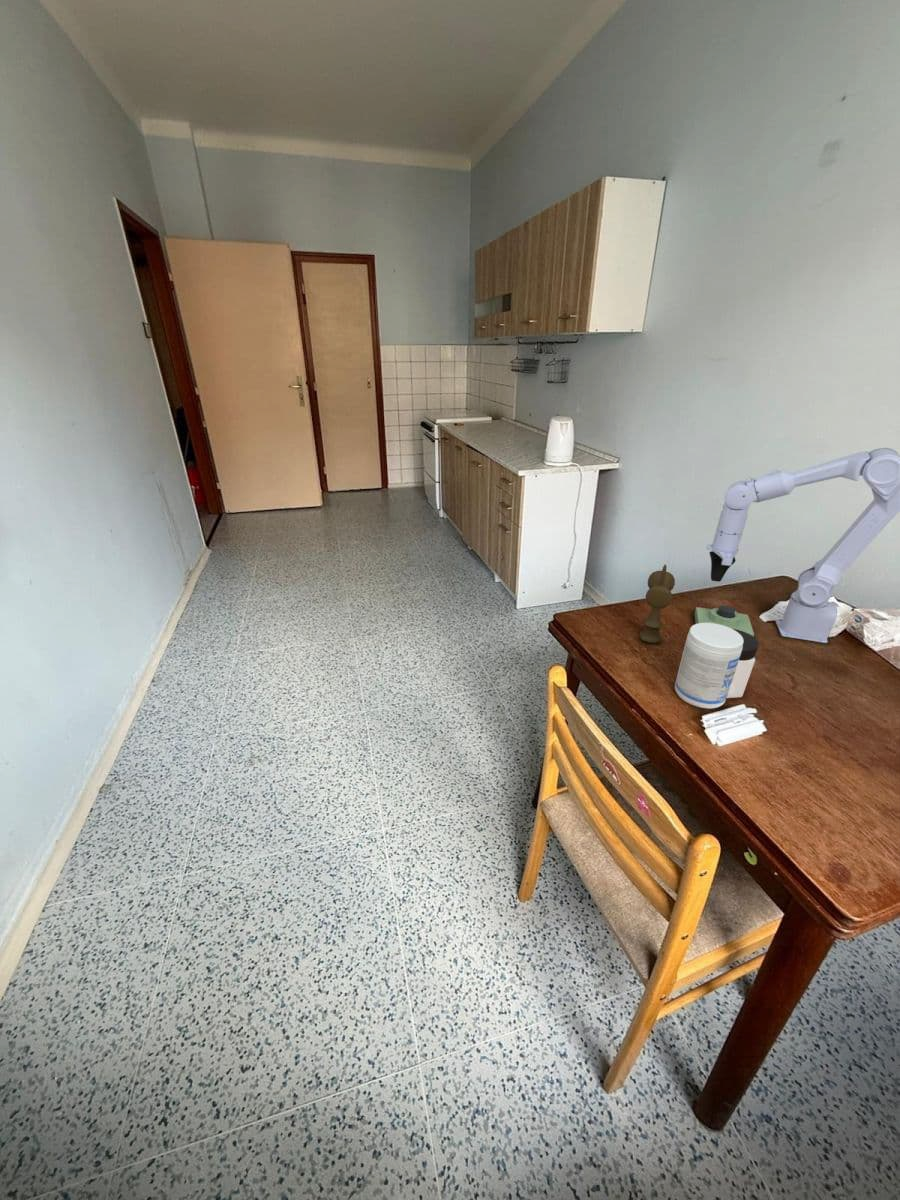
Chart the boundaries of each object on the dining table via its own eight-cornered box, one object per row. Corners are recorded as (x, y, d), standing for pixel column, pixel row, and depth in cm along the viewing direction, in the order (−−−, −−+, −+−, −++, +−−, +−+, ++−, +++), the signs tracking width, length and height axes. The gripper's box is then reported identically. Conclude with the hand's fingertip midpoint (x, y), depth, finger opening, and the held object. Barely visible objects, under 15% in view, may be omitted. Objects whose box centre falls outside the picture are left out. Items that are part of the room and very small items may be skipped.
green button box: (745, 622, 122) (750, 608, 120) (751, 642, 113) (756, 627, 111) (694, 614, 126) (697, 601, 124) (696, 633, 117) (700, 619, 115)
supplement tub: (727, 715, 91) (748, 653, 84) (673, 704, 94) (690, 642, 87) (722, 686, 99) (741, 626, 92) (673, 676, 102) (688, 617, 95)
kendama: (663, 632, 118) (680, 558, 109) (661, 652, 110) (679, 575, 101) (638, 627, 120) (652, 554, 111) (634, 646, 113) (649, 570, 103)
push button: (732, 613, 119) (734, 606, 118) (734, 619, 116) (736, 613, 115) (716, 610, 120) (718, 604, 119) (718, 617, 117) (719, 611, 116)
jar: (752, 690, 98) (769, 641, 92) (731, 705, 94) (748, 655, 88) (710, 669, 104) (724, 622, 99) (689, 682, 100) (702, 635, 95)
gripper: (708, 520, 124) (696, 567, 130) (714, 539, 112) (700, 589, 118) (739, 523, 122) (725, 570, 128) (748, 542, 110) (732, 594, 116)
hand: (715, 580), depth 123 cm, fingers closed
